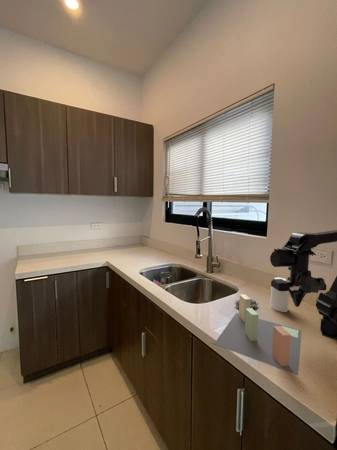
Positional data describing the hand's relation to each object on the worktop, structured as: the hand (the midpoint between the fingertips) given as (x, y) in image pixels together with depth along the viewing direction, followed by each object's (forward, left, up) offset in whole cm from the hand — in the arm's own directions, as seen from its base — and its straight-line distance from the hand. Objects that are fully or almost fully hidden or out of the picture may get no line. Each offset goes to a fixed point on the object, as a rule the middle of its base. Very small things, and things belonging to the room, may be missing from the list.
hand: (296, 306), depth 84 cm
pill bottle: (+8, -22, -12) cm, 26 cm away
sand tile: (+19, -1, -11) cm, 23 cm away
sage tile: (+14, +11, -11) cm, 21 cm away
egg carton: (+22, -14, -12) cm, 29 cm away
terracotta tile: (+3, +19, -11) cm, 22 cm away
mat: (+11, +9, -12) cm, 19 cm away
